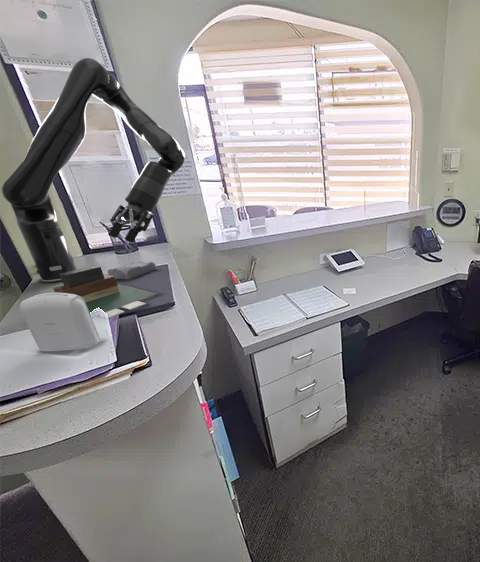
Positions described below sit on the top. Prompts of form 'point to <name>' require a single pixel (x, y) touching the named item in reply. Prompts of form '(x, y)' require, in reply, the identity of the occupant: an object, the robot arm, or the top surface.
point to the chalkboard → (119, 298)
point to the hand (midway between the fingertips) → (120, 238)
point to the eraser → (88, 283)
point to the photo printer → (59, 321)
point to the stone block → (132, 270)
